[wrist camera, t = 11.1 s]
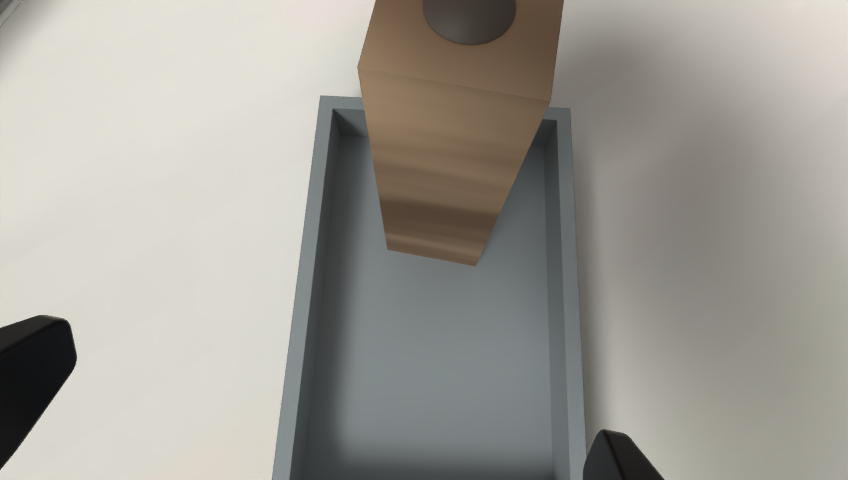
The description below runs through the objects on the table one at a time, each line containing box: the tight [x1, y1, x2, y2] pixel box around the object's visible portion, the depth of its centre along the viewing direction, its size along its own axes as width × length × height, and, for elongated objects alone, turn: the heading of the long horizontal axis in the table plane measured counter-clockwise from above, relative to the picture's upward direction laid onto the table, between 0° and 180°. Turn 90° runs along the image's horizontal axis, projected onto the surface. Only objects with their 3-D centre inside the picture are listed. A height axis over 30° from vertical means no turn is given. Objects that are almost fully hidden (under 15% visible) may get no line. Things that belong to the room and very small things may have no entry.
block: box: [357, 0, 564, 267], centre depth 17 cm, size 4×4×13 cm
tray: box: [272, 96, 586, 480], centre depth 21 cm, size 17×11×3 cm, turn 177°
